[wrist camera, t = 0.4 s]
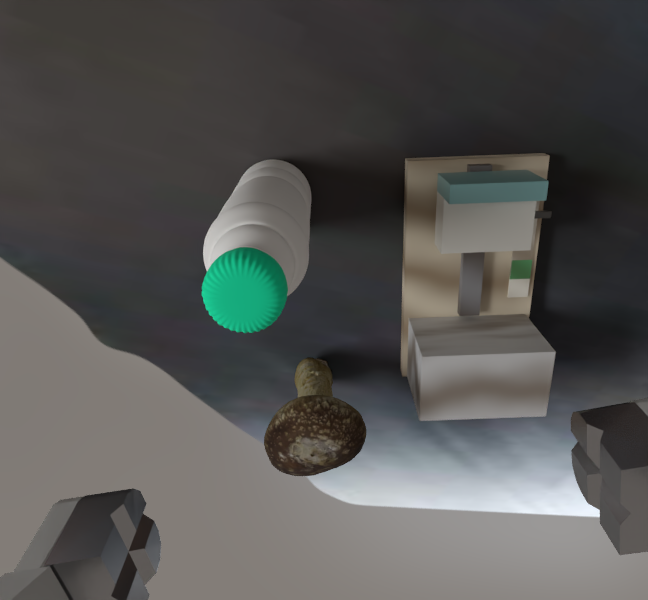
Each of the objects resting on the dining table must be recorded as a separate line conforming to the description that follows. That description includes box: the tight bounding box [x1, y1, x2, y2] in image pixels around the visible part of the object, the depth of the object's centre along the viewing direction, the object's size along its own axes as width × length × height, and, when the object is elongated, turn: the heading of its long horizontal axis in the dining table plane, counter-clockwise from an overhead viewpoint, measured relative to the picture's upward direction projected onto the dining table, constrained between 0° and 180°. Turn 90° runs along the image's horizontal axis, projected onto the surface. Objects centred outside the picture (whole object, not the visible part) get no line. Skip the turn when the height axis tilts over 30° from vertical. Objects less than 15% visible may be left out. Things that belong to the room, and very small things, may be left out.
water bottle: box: [202, 159, 311, 333], centre depth 41 cm, size 7×7×25 cm
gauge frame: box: [401, 153, 556, 421], centre depth 52 cm, size 23×13×10 cm, turn 1°
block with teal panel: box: [435, 170, 552, 254], centre depth 48 cm, size 7×10×5 cm, turn 91°
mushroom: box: [264, 358, 366, 476], centre depth 53 cm, size 9×9×15 cm
